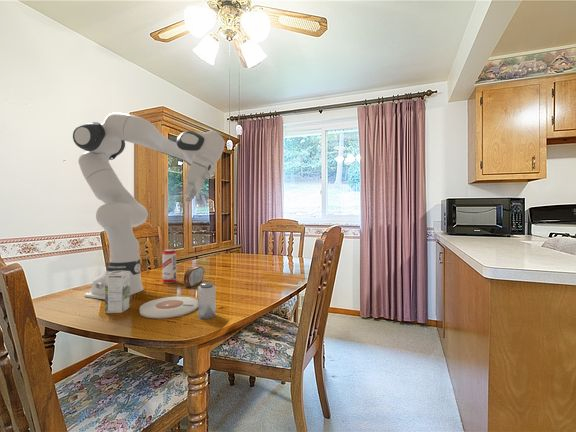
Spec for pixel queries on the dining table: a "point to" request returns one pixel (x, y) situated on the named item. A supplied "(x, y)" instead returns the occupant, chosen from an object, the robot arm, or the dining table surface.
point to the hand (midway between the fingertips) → (187, 199)
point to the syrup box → (117, 291)
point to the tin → (193, 276)
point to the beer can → (169, 266)
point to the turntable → (168, 307)
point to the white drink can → (206, 300)
